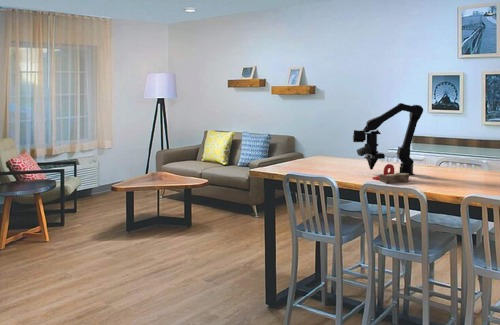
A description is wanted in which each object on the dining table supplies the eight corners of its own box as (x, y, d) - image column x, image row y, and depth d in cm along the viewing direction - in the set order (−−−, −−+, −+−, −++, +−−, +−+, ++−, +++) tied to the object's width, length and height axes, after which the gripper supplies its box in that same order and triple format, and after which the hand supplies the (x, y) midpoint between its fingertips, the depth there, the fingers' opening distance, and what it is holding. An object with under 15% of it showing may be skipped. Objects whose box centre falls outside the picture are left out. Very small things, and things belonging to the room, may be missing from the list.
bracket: (388, 176, 270) (388, 162, 269) (394, 178, 266) (394, 163, 265) (371, 179, 264) (372, 164, 263) (377, 180, 260) (377, 165, 259)
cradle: (399, 179, 262) (399, 170, 261) (408, 182, 254) (409, 173, 253) (378, 181, 258) (378, 172, 257) (387, 184, 250) (387, 175, 249)
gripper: (350, 141, 281) (350, 167, 283) (367, 144, 263) (367, 173, 265) (368, 140, 284) (367, 166, 286) (385, 143, 266) (385, 171, 269)
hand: (371, 169), depth 277 cm, fingers closed
